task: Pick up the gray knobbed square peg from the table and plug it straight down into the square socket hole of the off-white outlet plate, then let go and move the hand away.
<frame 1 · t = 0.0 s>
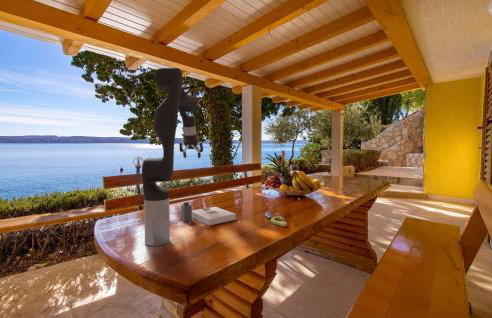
hand: (192, 157, 149), 31 cm above the table, fingers open, 8 cm apart
socket plate: (212, 217, 127), on the table
gray knobbed square peg: (186, 220, 122), on the table
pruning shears: (274, 220, 124), on the table
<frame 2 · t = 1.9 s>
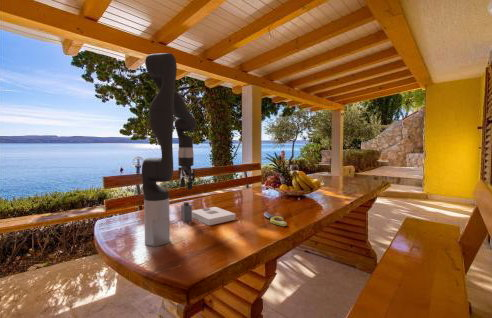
hand: (186, 188, 121), 17 cm above the table, fingers open, 8 cm apart
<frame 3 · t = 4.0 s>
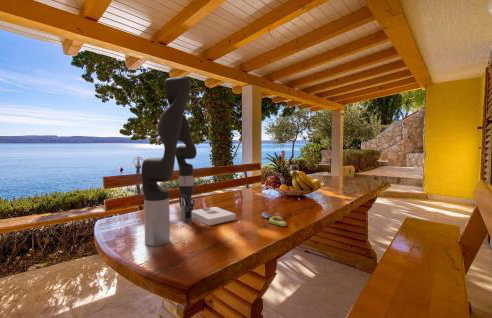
hand: (186, 217, 122), 2 cm above the table, fingers closed on gray knobbed square peg, 4 cm apart
gray knobbed square peg: (186, 220, 122), on the table, touching gripper
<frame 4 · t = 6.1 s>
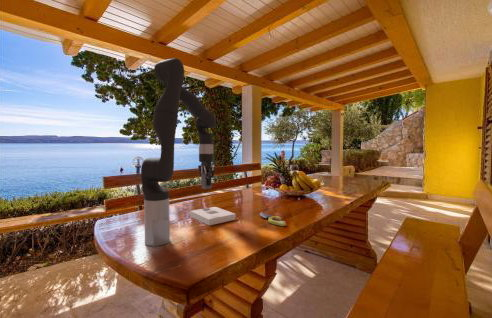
hand: (206, 184, 125), 18 cm above the table, fingers closed on gray knobbed square peg, 4 cm apart
gray knobbed square peg: (206, 188, 126), point 16 cm above the table, touching gripper
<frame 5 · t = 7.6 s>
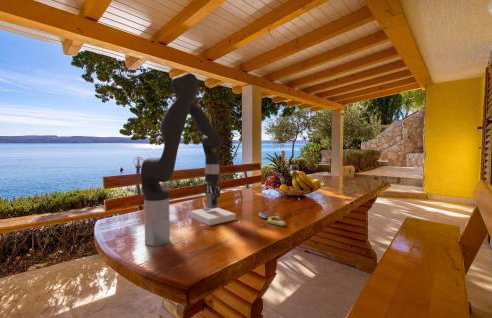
hand: (212, 204, 126), 7 cm above the table, fingers closed on gray knobbed square peg, 4 cm apart
gray knobbed square peg: (212, 207, 127), point 5 cm above the table, touching gripper
when the fingers open (4 cm above the table, at t = 8.5 s): gray knobbed square peg drops 2 cm, resting in socket plate.
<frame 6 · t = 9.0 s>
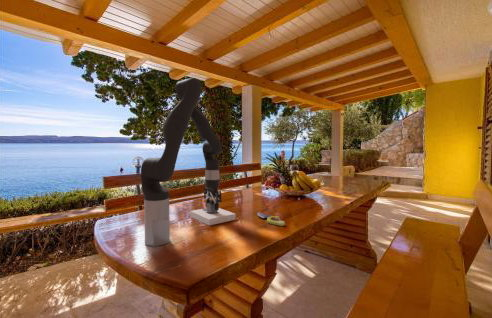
hand: (212, 208, 126), 5 cm above the table, fingers open, 8 cm apart
gray knobbed square peg: (212, 217, 127), resting in socket plate
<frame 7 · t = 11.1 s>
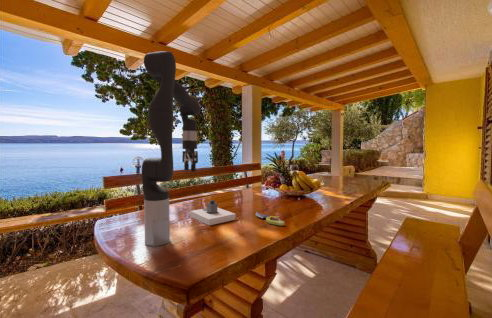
hand: (189, 170, 124), 25 cm above the table, fingers open, 8 cm apart
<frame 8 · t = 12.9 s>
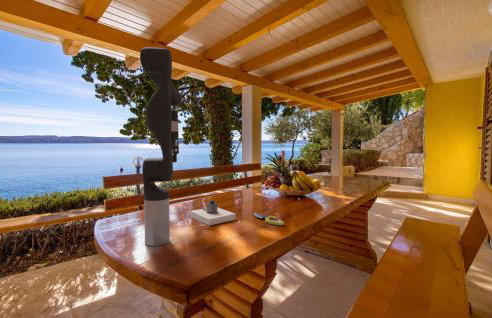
hand: (171, 162, 123), 30 cm above the table, fingers open, 8 cm apart
at the end: gray knobbed square peg 0.1 cm off-centre on the socket plate, point 0.0 cm above the socket plate's base; gray knobbed square peg tilted 0°; the gripper is holding nothing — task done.
